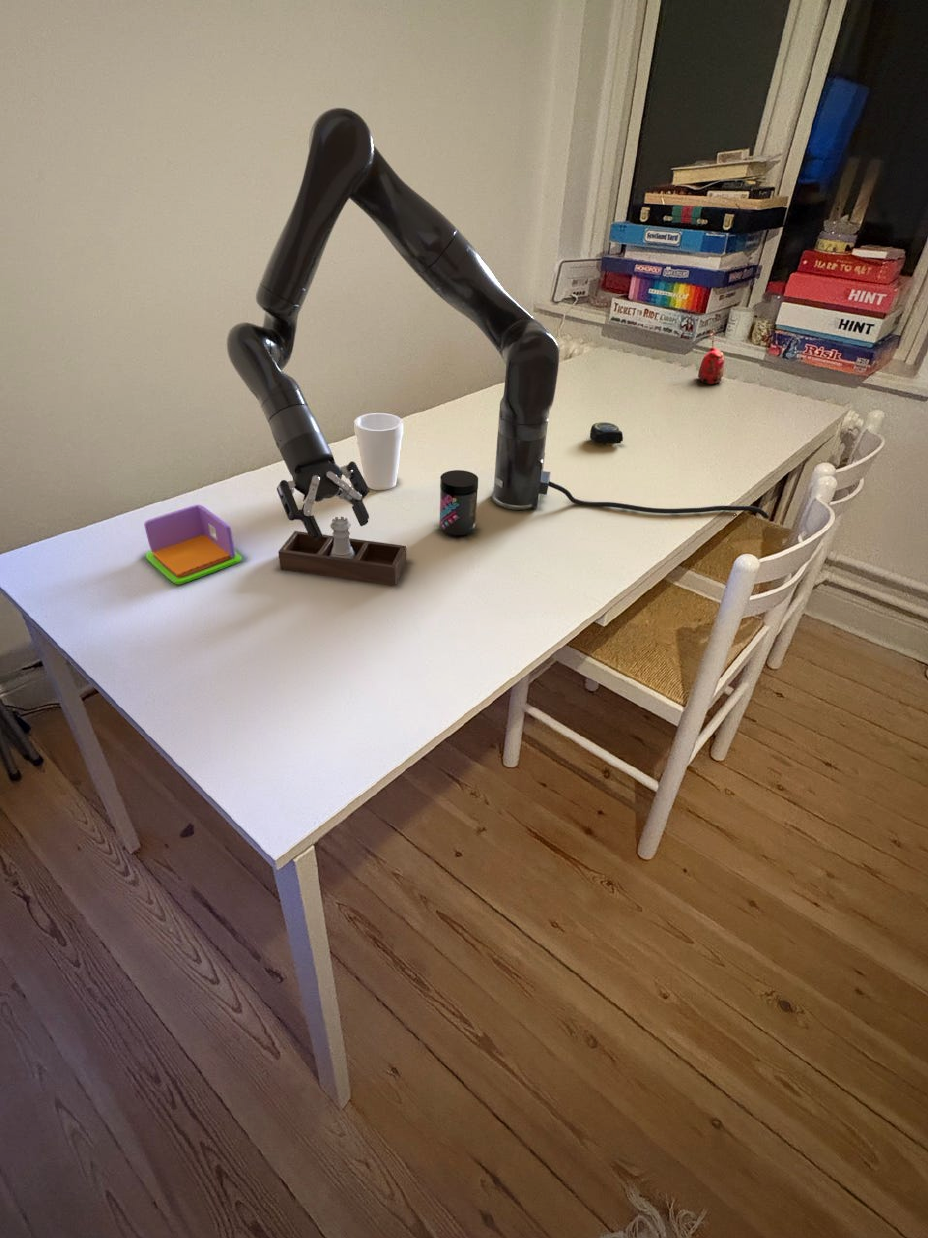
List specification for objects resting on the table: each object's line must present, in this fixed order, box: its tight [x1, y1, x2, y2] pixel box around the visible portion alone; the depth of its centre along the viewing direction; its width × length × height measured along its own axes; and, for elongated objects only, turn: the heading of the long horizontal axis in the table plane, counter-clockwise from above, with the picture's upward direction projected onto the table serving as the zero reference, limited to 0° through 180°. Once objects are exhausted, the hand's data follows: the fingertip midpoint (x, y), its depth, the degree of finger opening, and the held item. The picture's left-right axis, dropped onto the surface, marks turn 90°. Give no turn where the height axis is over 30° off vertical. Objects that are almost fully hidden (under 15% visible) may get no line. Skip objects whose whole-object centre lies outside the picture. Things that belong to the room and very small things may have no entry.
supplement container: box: [438, 469, 479, 539], centre depth 125 cm, size 7×7×10 cm
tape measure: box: [589, 421, 624, 446], centre depth 164 cm, size 7×7×4 cm
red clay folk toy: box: [697, 326, 725, 385], centre depth 201 cm, size 8×7×15 cm
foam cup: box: [353, 412, 404, 491], centre depth 138 cm, size 10×9×13 cm
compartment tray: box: [277, 530, 407, 587], centre depth 115 cm, size 7×20×4 cm, turn 79°
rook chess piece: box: [330, 516, 356, 559], centre depth 114 cm, size 4×4×8 cm
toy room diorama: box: [143, 504, 242, 586], centre depth 114 cm, size 12×12×7 cm
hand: (342, 531), depth 112 cm, fingers open, 8 cm apart
